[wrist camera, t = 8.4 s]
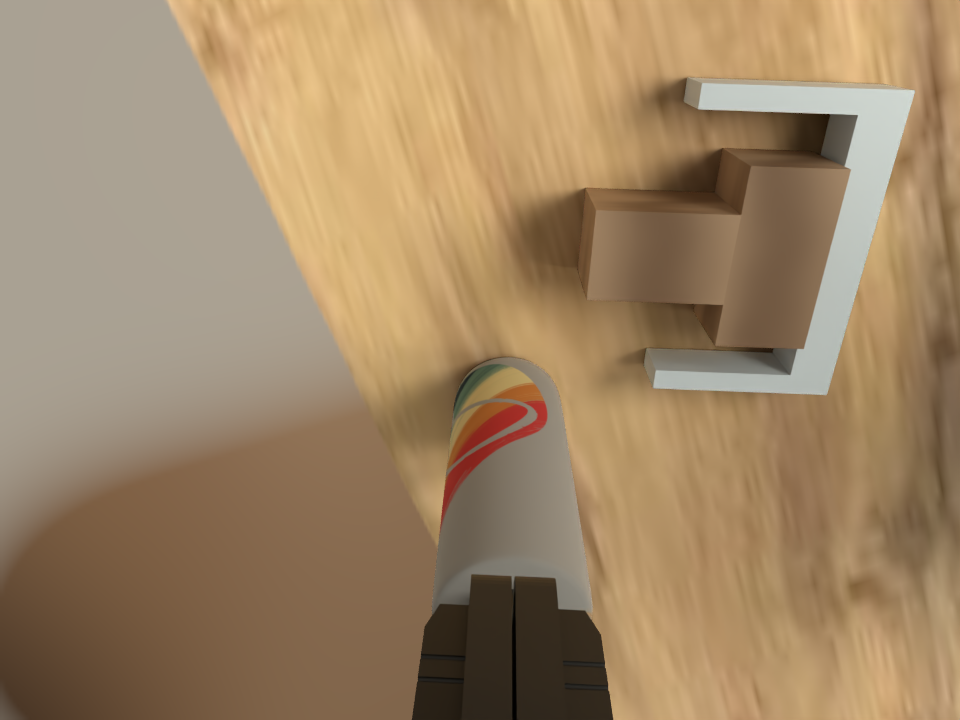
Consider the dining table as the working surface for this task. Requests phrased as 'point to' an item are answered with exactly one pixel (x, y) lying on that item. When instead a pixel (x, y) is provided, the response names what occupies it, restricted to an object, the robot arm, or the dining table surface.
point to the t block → (722, 245)
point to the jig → (870, 155)
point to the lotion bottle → (510, 488)
